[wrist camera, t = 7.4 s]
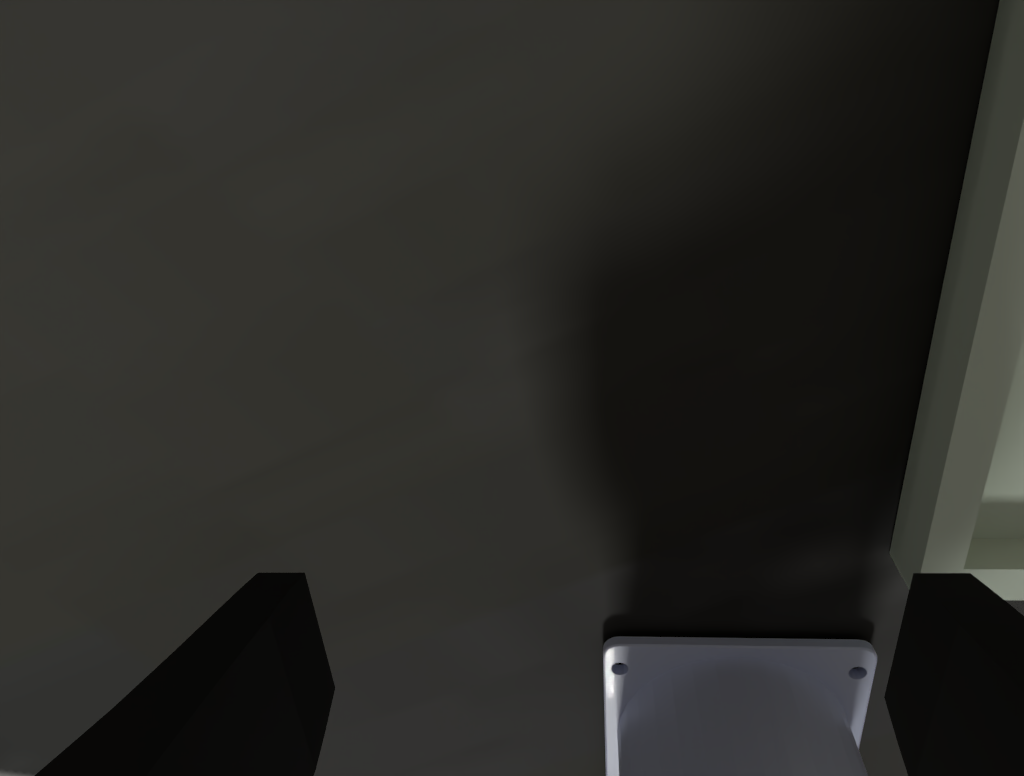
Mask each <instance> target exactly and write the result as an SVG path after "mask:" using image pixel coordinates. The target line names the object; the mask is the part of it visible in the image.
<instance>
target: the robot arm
mask: <svg viewBox="0 0 1024 776" xmlns="http://www.w3.org/2000/svg"><path fill="white" fill-rule="evenodd" d="M615 663H624V664H623V665H617V664H615ZM876 664H877V654H876V652H875V650H874V648H873V646H872V645H871V644H870V643H869V642H867V641H865V640H859V639H784V638H707V637H631V636H618V637H612V638H610V639H608V640H607V641H606V642H605V643H604V646H603V674H604V718H605V763H606V776H868V774H867V771H866V769H865V766H864V763H863V760H862V758H861V755H860V752H859V746H860V741H861V736H862V731H863V726H864V721H865V717H866V712H867V707H868V702H869V697H870V692H871V688H872V683H873V678H874V673H875V668H876ZM854 667H858V668H856V669H852V668H854ZM334 690H335V686H334V682H333V678H332V674H331V671H330V667H329V663H328V659H327V655H326V652H325V648H324V644H323V640H322V637H321V633H320V629H319V625H318V621H317V618H316V614H315V610H314V606H313V603H312V599H311V595H310V591H309V587H308V584H307V580H306V576H305V573H257V574H256V575H255V576H254V577H253V578H252V579H251V580H249V581H248V582H247V583H246V584H245V585H244V586H243V587H242V588H241V589H240V590H239V591H237V592H236V593H235V594H234V595H233V596H232V597H231V598H230V599H229V600H228V601H227V602H226V603H225V604H224V605H223V606H222V607H220V608H219V609H218V610H217V611H216V612H215V613H214V614H213V615H212V616H211V617H210V618H209V619H208V620H207V621H206V622H205V623H204V624H203V625H202V626H201V627H199V628H198V629H197V630H196V631H195V632H194V633H193V634H192V635H191V636H190V637H189V638H188V639H187V640H186V641H185V642H184V643H183V644H182V645H181V646H179V647H178V648H177V649H176V650H175V651H174V652H173V653H172V654H171V655H170V656H169V657H168V658H167V659H166V660H164V661H163V662H162V663H161V664H160V665H159V666H158V667H157V668H156V669H155V670H154V671H153V672H152V673H150V674H149V675H148V676H147V677H146V678H145V679H144V680H143V681H142V682H141V683H140V684H139V685H137V686H136V687H135V688H134V689H133V690H132V691H131V692H130V693H129V694H128V695H127V696H126V697H125V698H123V699H122V700H121V701H120V702H119V703H118V704H117V705H116V706H115V707H114V708H113V709H111V710H110V711H109V712H108V713H107V714H106V715H105V716H103V717H102V718H101V719H100V720H99V721H98V722H96V723H95V724H94V725H93V726H92V727H91V728H89V729H88V730H87V731H86V732H85V733H84V734H83V735H81V736H80V737H79V738H78V739H77V740H76V741H74V742H73V743H72V744H71V745H70V746H69V747H67V748H66V749H65V750H64V751H63V752H62V753H60V754H59V755H58V756H57V757H56V758H55V759H54V760H52V761H51V762H50V763H49V764H48V765H47V766H45V767H44V768H43V769H42V770H41V771H40V772H38V773H37V774H36V775H35V776H313V775H314V773H315V770H316V766H317V762H318V758H319V754H320V750H321V746H322V742H323V738H324V734H325V730H326V725H327V721H328V717H329V712H330V708H331V703H332V699H333V695H334ZM884 698H885V701H886V704H887V708H888V711H889V714H890V718H891V721H892V725H893V728H894V731H895V735H896V738H897V741H898V745H899V748H900V751H901V754H902V757H903V760H904V763H905V767H906V770H907V773H908V776H1024V616H1023V615H1022V614H1021V613H1019V612H1018V611H1017V610H1016V609H1014V608H1013V607H1012V606H1011V605H1010V604H1008V603H1007V602H1006V601H1005V600H1003V599H1002V598H1001V597H1000V596H999V595H997V594H996V593H995V592H994V591H992V590H991V589H990V588H989V587H987V586H986V585H985V584H983V583H982V582H981V581H980V580H978V579H977V578H976V577H974V576H973V575H972V574H971V573H913V577H912V581H911V585H910V590H909V594H908V598H907V603H906V607H905V611H904V616H903V620H902V624H901V628H900V633H899V637H898V641H897V646H896V650H895V654H894V659H893V663H892V667H891V671H890V676H889V680H888V684H887V689H886V693H885V697H884Z"/></svg>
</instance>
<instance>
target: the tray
mask: <svg viewBox="0 0 1024 776" xmlns="http://www.w3.org/2000/svg"><path fill="white" fill-rule="evenodd" d="M889 554H890V556H891V558H892V560H893V562H894V563H895V565H896V567H897V569H898V571H899V572H900V574H901V576H902V578H903V580H904V581H905V583H906V585H907V587H908V589H909V590H910V585H911V581H912V577H913V573H971V574H972V575H973V576H974V577H976V578H977V579H978V580H980V581H981V582H982V583H983V584H985V585H986V586H987V587H989V588H990V589H991V590H992V591H994V592H995V593H996V594H997V595H999V596H1000V597H1001V598H1002V599H1003V600H1024V0H1000V1H999V6H998V11H997V16H996V21H995V26H994V31H993V36H992V41H991V46H990V51H989V56H988V61H987V66H986V71H985V76H984V81H983V86H982V91H981V96H980V101H979V106H978V111H977V116H976V121H975V126H974V131H973V136H972V141H971V146H970V151H969V156H968V161H967V166H966V171H965V176H964V181H963V186H962V191H961V196H960V201H959V207H958V212H957V217H956V222H955V227H954V232H953V237H952V242H951V247H950V252H949V257H948V262H947V267H946V272H945V277H944V282H943V287H942V292H941V297H940V302H939V307H938V312H937V317H936V322H935V327H934V332H933V337H932V342H931V347H930V352H929V357H928V362H927V367H926V372H925V377H924V382H923V387H922V392H921V397H920V402H919V407H918V412H917V417H916V422H915V427H914V432H913V437H912V442H911V447H910V452H909V457H908V462H907V467H906V472H905V477H904V482H903V487H902V492H901V497H900V502H899V507H898V512H897V517H896V522H895V527H894V532H893V537H892V542H891V547H890V552H889Z"/></svg>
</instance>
